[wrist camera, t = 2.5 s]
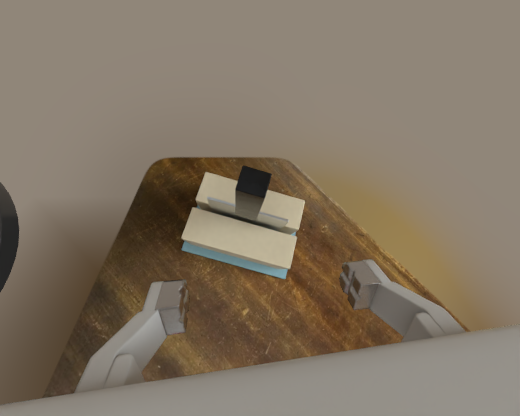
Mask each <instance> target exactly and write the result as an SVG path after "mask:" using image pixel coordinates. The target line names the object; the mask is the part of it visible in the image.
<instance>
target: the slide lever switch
mask: <svg viewBox="0 0 520 416" xmlns="http://www.w3.org/2000/svg"><path fill="white" fill-rule="evenodd" d="M237 182H238V181H236V180H232V179H229V178H225V177H222V176H218V175H215V174H212V173H208V172H205V175H204V178H203V180H202V183H201V186H200V189H199V191H198V194H197V197H196V199H195V200H196V202H197V204H198V205H197V208H194V207H193V208H192V210H191V213H190V215H189V218H188V221H187V224H186V226H185V229H184V232H183V234H182V237H181V239H183V240H185V241H184V244H183V247H182V249H181V250H182V251H186V252H190V253H193V254H197V255H200V256H204V257H207V258H211V259H214V260H218V261H222V262H225V263H229V264H232V265H236V266H239V267H243V268H246V269H250V270H254V271H257V272H261V273H264V274H268V275H271V276H275V277H278V278H282V279H285V277H286V273H287V269H290V266H291V262H292V257H293V253H294V248H295V244H296V239H297V237H296V236H295V233H296V231H297V230H299V226H300V221H301V217H302V212H303V208H304V203H305V201H304V200H301V199H297V198H294V197H290V196H287V195H284V194H280V193H277V192H273V191H270V190H267V193H266V197H265V200H264V202H263V205H262V207H261V210H260V212H264V213H267V214H271V215H274V216H277V217H281V218H284V219H288V220H289V222H288V223H287V224H286V225H285V226H284V227H283V228H281V229H280V230H279V231H275V230H271V229H268V228H264V227H261V226H257V225H254V224H250V223H247V222H243V221H240V220H236V219H233V218H229V217H226V216H222V215H219V214H215V213H212V211H211V208H210V205H209V203H208V200H207V196H208V197H212V198H215V199H219V200H222V201H225V202H229V203H232V204H235V188H236V185H237Z"/></svg>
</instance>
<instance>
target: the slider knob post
mask: <svg viewBox="0 0 520 416" xmlns="http://www.w3.org/2000/svg"><path fill="white" fill-rule="evenodd" d="M271 175H272V174H270V173H267V172H264V171H260V170H257V169H253V168H250V167H247V166H243V167H242V170H241V173H240V176H239V179H238V182H237V185H236V188H235V204H232V203H229V202H225V201H222V200H219V199H215V198H212V197H208V196H207V200H208V203H209V205H210V208H211V211H212V213H215V214H219V215H222V216H226V217H229V218H233V219H236V220H240V221H243V222H247V223H250V224H254V225H257V226H261V227H264V228H268V229H271V230H275V231H279V230H280V229H281V228H283V227H284V226H285V225H286V224H287V223H288V222H289V220H288V219H284V218H281V217H277V216H274V215H271V214H267V213H264V212H260V210H261V207H262V205H263V202H264V200H265V197H266V193H267V190H268V186H269V183H270V179H271Z"/></svg>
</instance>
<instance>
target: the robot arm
mask: <svg viewBox="0 0 520 416" xmlns="http://www.w3.org/2000/svg"><path fill="white" fill-rule="evenodd" d="M342 269H343V272H342V273H341V274H340V278H339V280H340V286H341V288H342V290H343V292H344V293H346V294H347V295H348V301H349V303H350V304H351V306H352V308H353V310H359V309H369V308H370V310H371V311H372V312H373V313H375V314H376V315H377V316H378V317H380V318H381V319H382V320H384V321H385V322H386V323H387V324H389V325H390V326H391V327H392V328H394V329H395V330H396V331H397V332H399V333H400V334H401V335H402V336H404V337H403V339H402V341H401V343H395V344H388V345H382V346H375V347H369V348H363V349H356V350H350V351H343V352H337V353H331V354H324V355H318V356H311V357H305V358H299V359H292V360H286V361H279V362H273V363H267V364H260V365H254V366H247V367H241V368H235V369H228V370H222V371H215V372H209V373H202V374H196V375H190V376H183V377H177V378H170V379H164V380H157V381H151V382H146V381H145V379H144V377H143V375H142V373H141V372H142V371H143V369H144V368H145V366H146V365H147V364H148V362H149V361H150V359H151V358H152V357H153V355H154V354H155V352H156V351H157V350H158V348H159V347H160V345H161V344H162V343H163V341H164V340H165V338H166V337H167V335H172V334H179V333H185V332H186V327H187V320H188V319H187V314H186V313H187V312H188V311H189V303H190V298H189V291H188V290H186V288H187V283H186V280H185V279H183V280H170V281H161V282H153V283H152V284H151V286H150V289H149V292H148V295H147V298H146V300H145V303H144V306H143V309H142V312H138V313H137V314H136V315H135V316H134V317H133V318H132V319H131V320H130V321H129V322H128V323H126V324H125V325H124V326H123V327H122V328H121V329H120V330H119V331H118V332H117V333H116V334H115V335H114V336H113V337H112V338H111V339H110V340H109V341H108V342H107V343H105V344H104V345H103V346H102V347H101V348H100V349H99V350H98V351H97V352H96V353H95V354H94V355H93V356H92V357H91V358H90V360H89V362H88V364H87V366H86V368H85V371H84V373H83V375H82V377H81V379H80V381H79V383H78V385H77V388H76V390H75V392H74V394H67V395H61V396H54V397H48V398H41V399H35V400H28V401H23V402H16V403H9V404H3V405H0V416H520V324H516V325H510V326H504V327H497V328H491V329H485V330H479V331H472V332H466V331H465V330H464V329H463V328H462V327H461V326H460V325H459V324H458V323H457V322H456V321H455V320H454V319H453V318H452V316H451V315H450V314H449V313H448V312H447V311H446V310H445V309H444V308H442V307H440V306H438V305H436V304H434V303H432V302H431V301H429V300H427V299H425V298H423V297H421V296H419V295H418V294H416V293H414V292H412V291H410V290H408V289H406V288H405V287H403V286H401V285H399V284H397V283H395V282H391V281H390V280H389V279H388V277H387V276H386V275H385V274H384V273H383V271H382V270H381V269H380V268H379V267H378V265H377V264H376V263H375V262H374V261H373V260H371V259H370V260H362V261H352V262H344V263H343V265H342Z"/></svg>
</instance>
